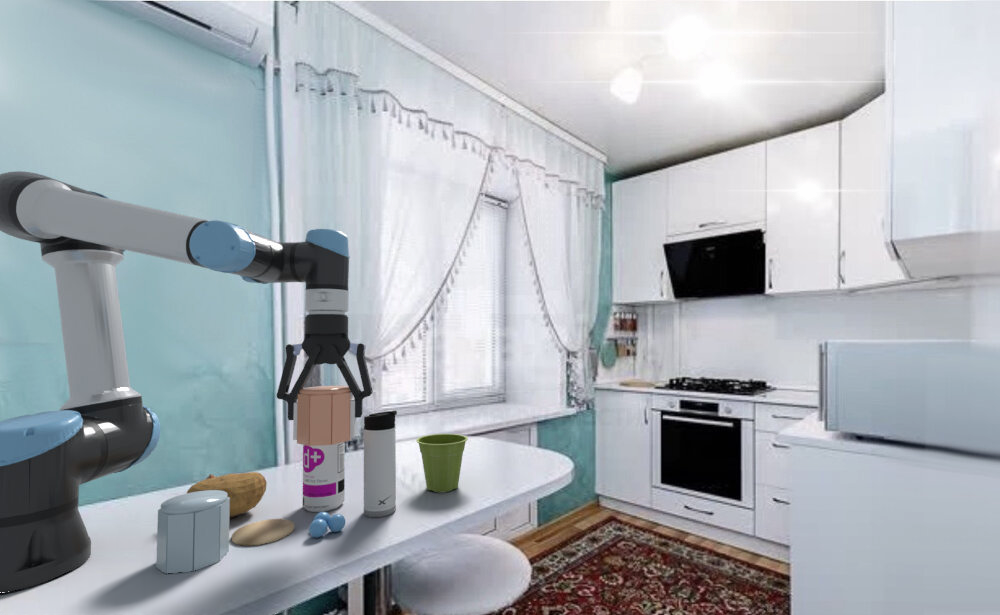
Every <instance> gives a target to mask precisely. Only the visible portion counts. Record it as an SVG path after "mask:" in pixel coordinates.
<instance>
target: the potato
mask: <svg viewBox="0 0 1000 615" xmlns="http://www.w3.org/2000/svg"><path fill="white" fill-rule="evenodd" d="M215 477H216V476H215ZM206 490H221V491H225V492H227V494H228V495H227V497H229V498H230V511H229V519H230V518H234V517H237V516H240V515H242V514H245V513H247V512H249V511H250V510H252V509H254V508H256V506H257V505H258V504H259V503H260V502H261V500H262V498H263V497H264V494H265V492H266V490H267V480H266V478H265V476H264V475H263V474H262V473H261V472H259V471H257V472H256V471H255V472H254V471H250V472H243V473H241V472H240V473H228V474H223V475H219V476H217V477H216V478H210V479H206V478H205V479H202V480H200V481H198V482H195V484H193V485H191V486H190V487H189V488H188V489H187V491H186V494H187V493H192V492H197V491H206Z"/></svg>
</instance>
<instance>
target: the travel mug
mask: <svg viewBox="0 0 1000 615" xmlns="http://www.w3.org/2000/svg"><path fill="white" fill-rule="evenodd" d="M397 414H398V412H397V410H390V411H381V412H376V413H371V414H368V415H364V417H363V424H364V425H363V514H364V515H365V516H366V517H369V518H382V517H387V516H390V515H392V514H394V513H395V512H396V510H397V507H396V506H397V503H396V502H397V501H396V500H397V498H396V497H397V494H396V493H397V483H396V482H397V481H396V478H397V477H396V476H397V475H396V474H397V473H396V472H397V471H396V470H397V468H396V466H397V463H396V462H397V461H396V460H397V458H396V453H397V451H396V449H397V448H396V445H397V443H396V440H397V439H396V438H397V436H396V434H397V433H396V428H397V427H396V415H397Z"/></svg>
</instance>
